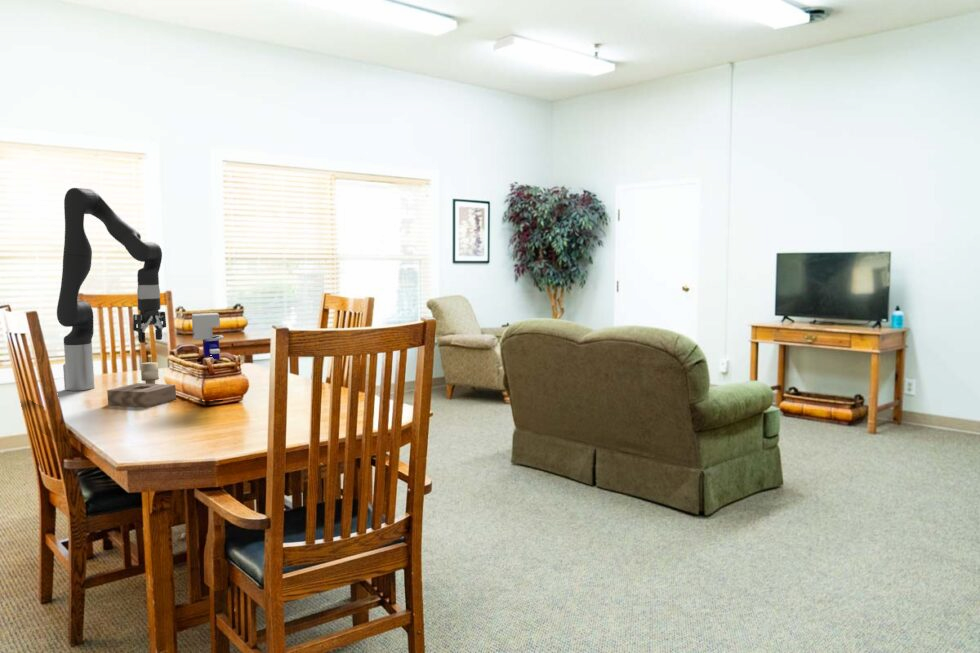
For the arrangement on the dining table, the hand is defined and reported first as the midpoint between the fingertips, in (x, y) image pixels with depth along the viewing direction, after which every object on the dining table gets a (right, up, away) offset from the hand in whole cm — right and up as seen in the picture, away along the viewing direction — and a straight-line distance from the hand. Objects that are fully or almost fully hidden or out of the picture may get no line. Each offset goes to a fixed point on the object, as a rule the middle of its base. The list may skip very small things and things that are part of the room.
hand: (150, 341), depth 272 cm
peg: (-1, -19, +3) cm, 19 cm away
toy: (+28, -20, -14) cm, 37 cm away
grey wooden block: (+5, -21, -17) cm, 27 cm away
